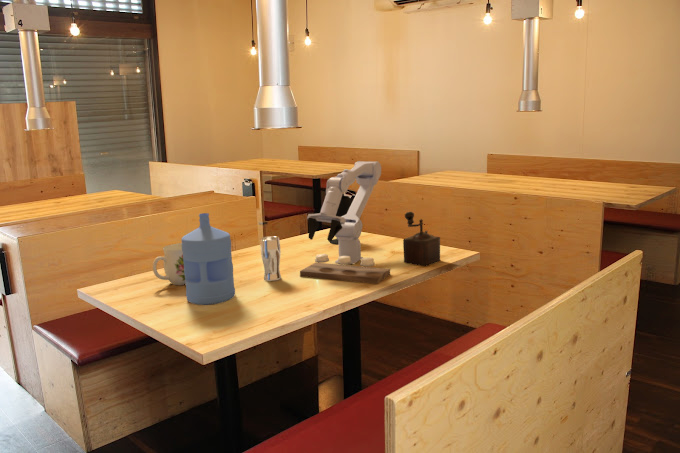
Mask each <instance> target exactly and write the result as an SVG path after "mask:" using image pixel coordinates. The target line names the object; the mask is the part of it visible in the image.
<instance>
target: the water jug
mask: <svg viewBox="0 0 680 453" xmlns="http://www.w3.org/2000/svg"><path fill="white" fill-rule="evenodd" d="M209 215H210V214H209V213H207V212H206V213H202V212H201V213H199V214H198V217H199V220H198V221H199V227H197V228H195V229H193V230H192V231H190V232H188V233H187V234H185V235H184V236H182V237H181V243H182V252H183V261H184V275H185V282H186V284H185V292H186V293H185V296H186V301H187V302H189V303H190V304H192V305H198V306H205V305H206V306H208V305H209V306H210V305H217V304H222V303H225V302H228V301H230V300H232V299H233V298H234V297H235V295H236V287H235V283H234V264H233V259H232V258H233V257H232V240H231V234H230V233H229V232H227V231H224V230H223V229H219V228H216V227H213V226H211V224H210V217H209Z"/></svg>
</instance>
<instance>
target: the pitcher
mask: <svg viewBox="0 0 680 453" xmlns="http://www.w3.org/2000/svg"><path fill="white" fill-rule="evenodd" d="M162 251H163V254H164V256H157V257H155V258H154V260H153V262H152V272H153V274H154V276H155V277H156V278H158V279H159V280H162V281H169V283H171V285H173V286H184V284H185V285H186V282H185V275H184V261H183V252H182V242H179V243H178V242H177V243H174V244H173V243H172V244H168V245H165V246H164V247H163V248H162ZM159 261H162V262H163V270H164V273H165V275H162V274H160V273H159V272H158V269H157V264H158V262H159Z"/></svg>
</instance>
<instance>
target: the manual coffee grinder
mask: <svg viewBox="0 0 680 453" xmlns="http://www.w3.org/2000/svg"><path fill="white" fill-rule="evenodd" d="M414 218H415V213H414V212H413V211H407V212H406V213H405V214H404V219H406V220H407V227H408V228H410V227H411V228H413V227H414V228H415V227H419V229H420V230H419V232H417V233H415V234H414V235H411V236H409V237H406V238H403V239H402V241H403V242H402V243H403V245H402V246H403V247H402V248H403V263H405V264H409V265H414V266H420V267H421V266H422V267H427V266H430V265H433V264H436V263H438V262H440V261H441V236H435V235H432V234H429V233H428V230H425V231H423V230H424V228H423V225H424V220H423V219H422V218H420V219H419V221H418V222H419V223H418V224H416V223H415V221H414ZM413 223H415V224H413Z"/></svg>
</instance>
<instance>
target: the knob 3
mask: <svg viewBox="0 0 680 453" xmlns="http://www.w3.org/2000/svg"><path fill="white" fill-rule="evenodd" d="M374 260H375V259H374V258H373V257H363V258H362V259H361V260H360V263H359V265H360V266H361V267H373V266H375V261H374Z"/></svg>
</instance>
